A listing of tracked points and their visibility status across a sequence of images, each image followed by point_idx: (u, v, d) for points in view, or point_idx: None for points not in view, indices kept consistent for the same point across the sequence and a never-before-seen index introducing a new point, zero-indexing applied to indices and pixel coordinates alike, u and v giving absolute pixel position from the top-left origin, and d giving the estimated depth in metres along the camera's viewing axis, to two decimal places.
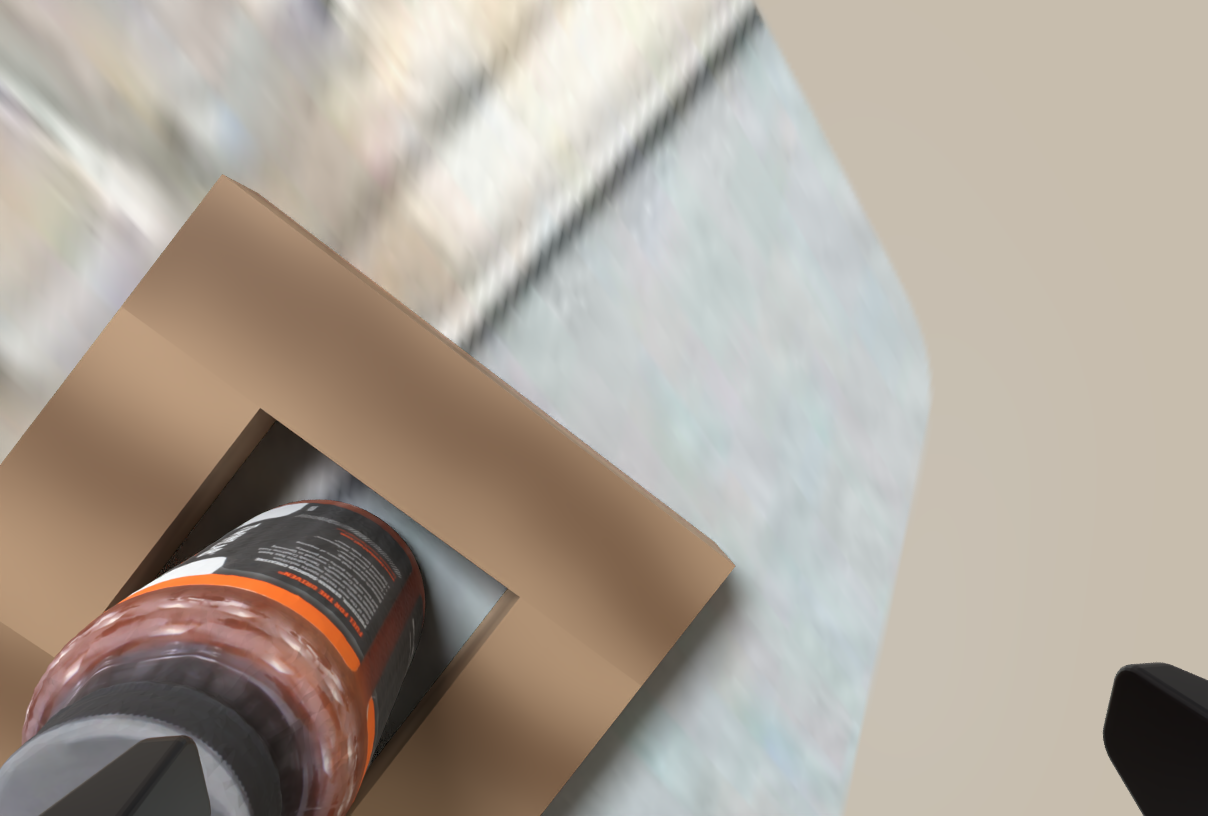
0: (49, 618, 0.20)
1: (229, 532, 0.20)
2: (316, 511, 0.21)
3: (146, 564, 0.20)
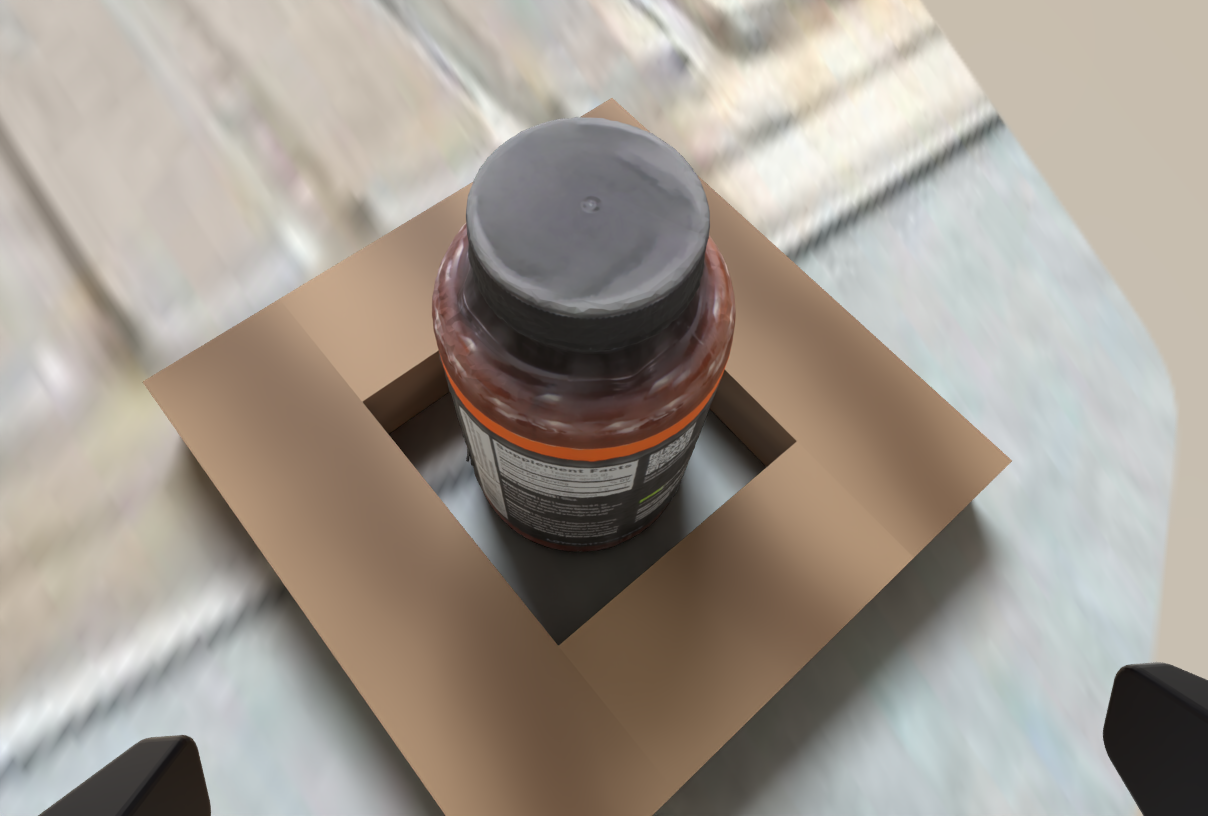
0: (366, 361, 0.21)
1: None
2: None
3: None
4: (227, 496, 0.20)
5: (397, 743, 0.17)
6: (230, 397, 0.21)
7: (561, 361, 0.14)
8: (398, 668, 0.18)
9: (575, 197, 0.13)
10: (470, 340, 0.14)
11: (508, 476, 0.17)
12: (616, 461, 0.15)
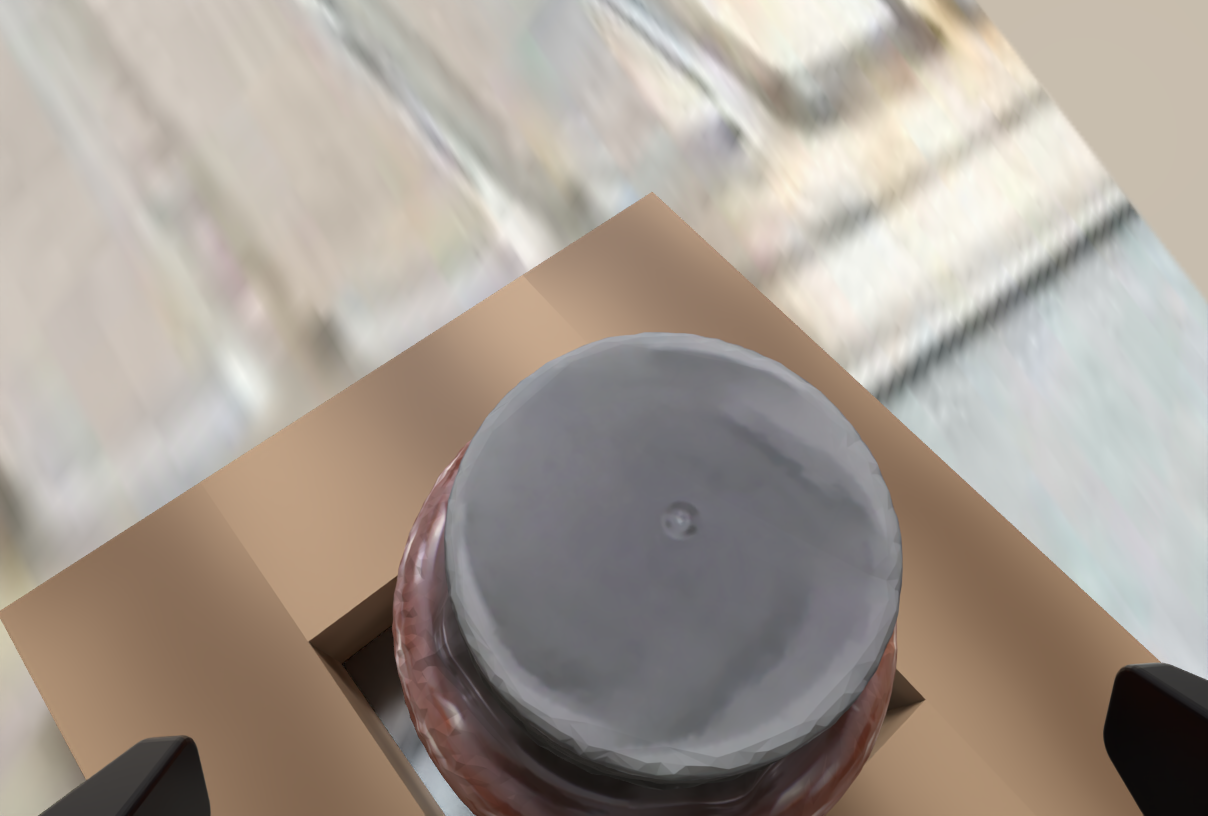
0: (317, 577, 0.15)
1: None
2: None
3: None
4: None
5: None
6: (120, 637, 0.15)
7: (620, 781, 0.07)
8: None
9: (649, 507, 0.07)
10: (454, 708, 0.08)
11: None
12: None
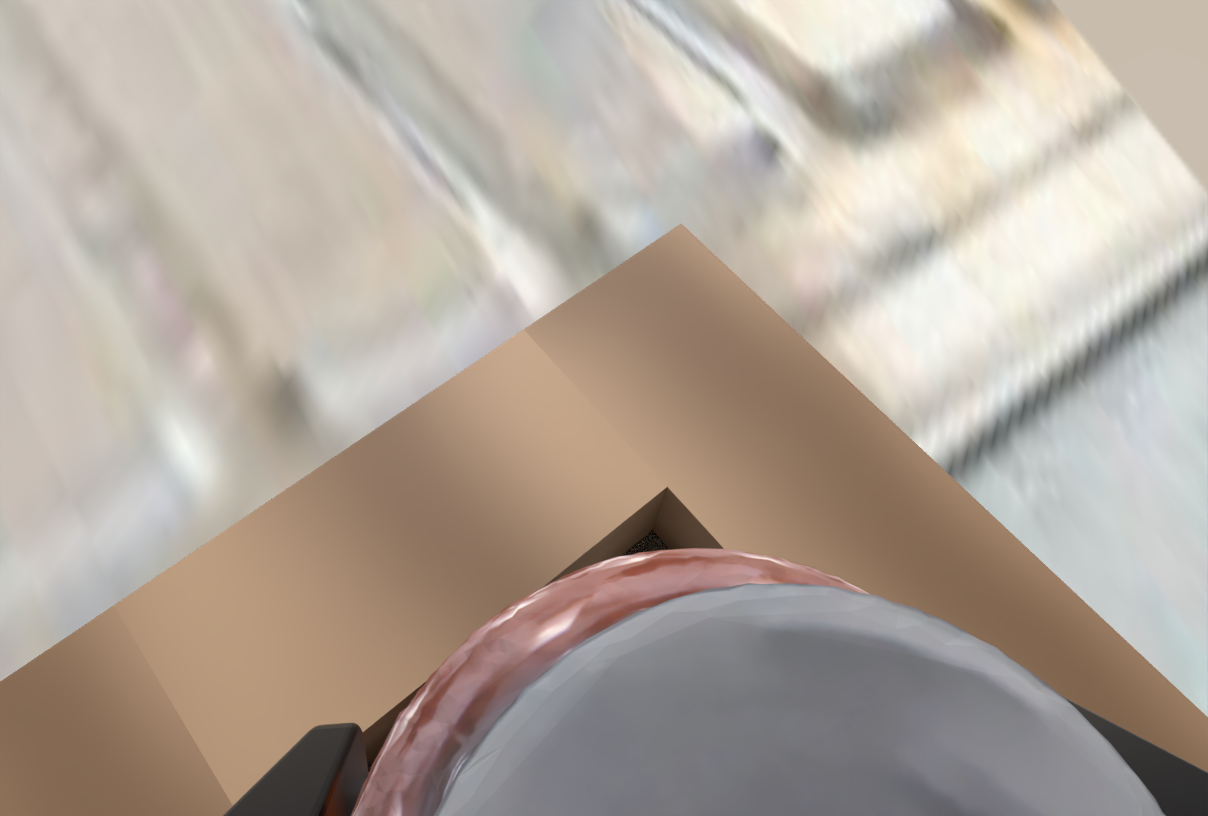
0: (259, 735, 0.12)
1: None
2: None
3: None
4: None
5: None
6: None
7: None
8: None
9: None
10: None
11: None
12: None
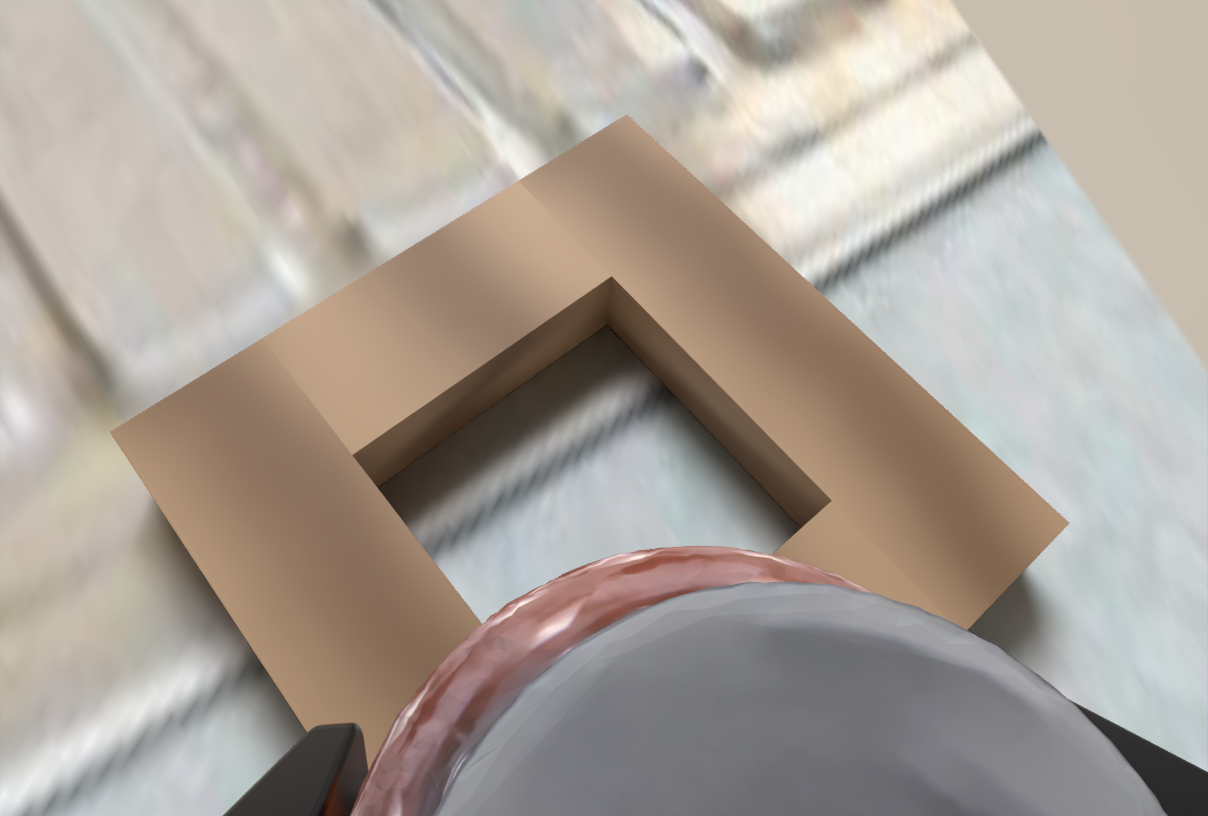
0: (357, 409, 0.19)
1: None
2: None
3: (456, 395, 0.20)
4: (201, 563, 0.18)
5: None
6: (207, 450, 0.19)
7: None
8: None
9: None
10: None
11: None
12: None
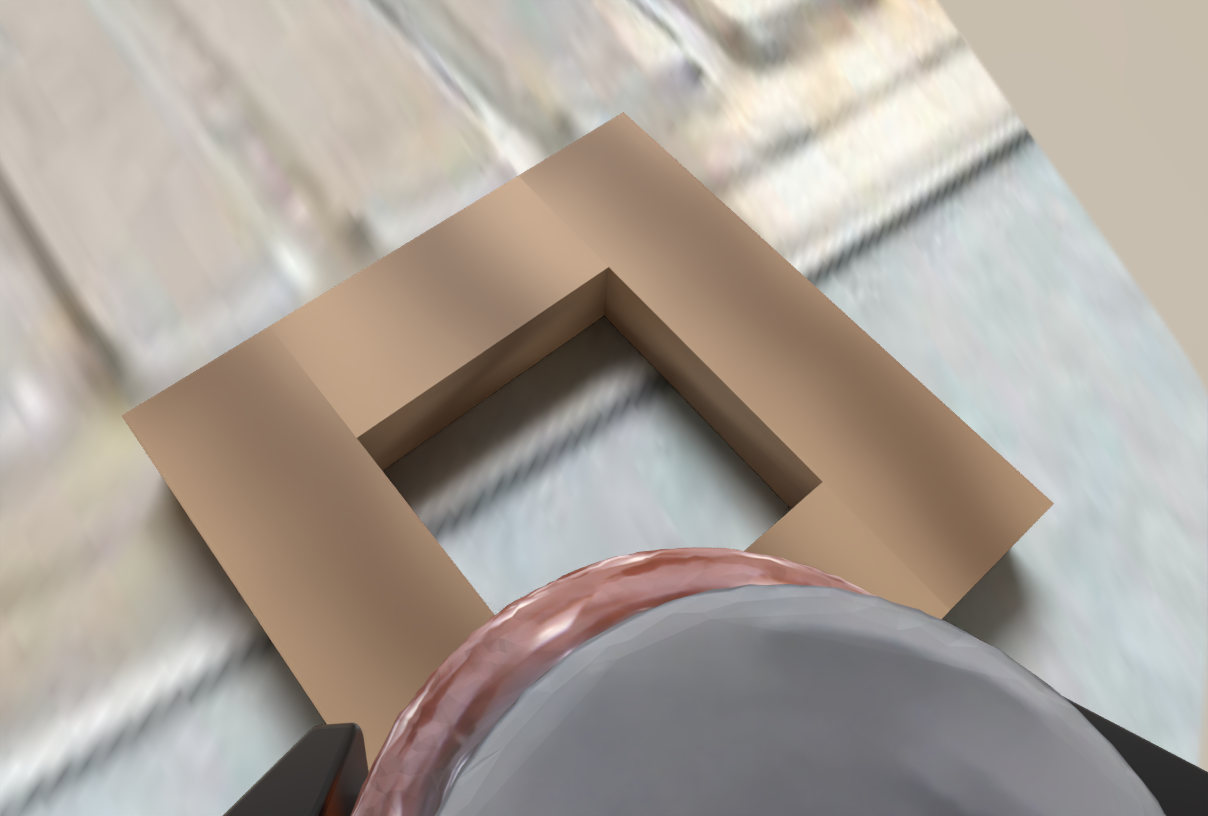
0: (362, 393, 0.20)
1: None
2: None
3: (458, 381, 0.21)
4: (210, 541, 0.18)
5: None
6: (215, 433, 0.19)
7: None
8: None
9: None
10: None
11: None
12: None
